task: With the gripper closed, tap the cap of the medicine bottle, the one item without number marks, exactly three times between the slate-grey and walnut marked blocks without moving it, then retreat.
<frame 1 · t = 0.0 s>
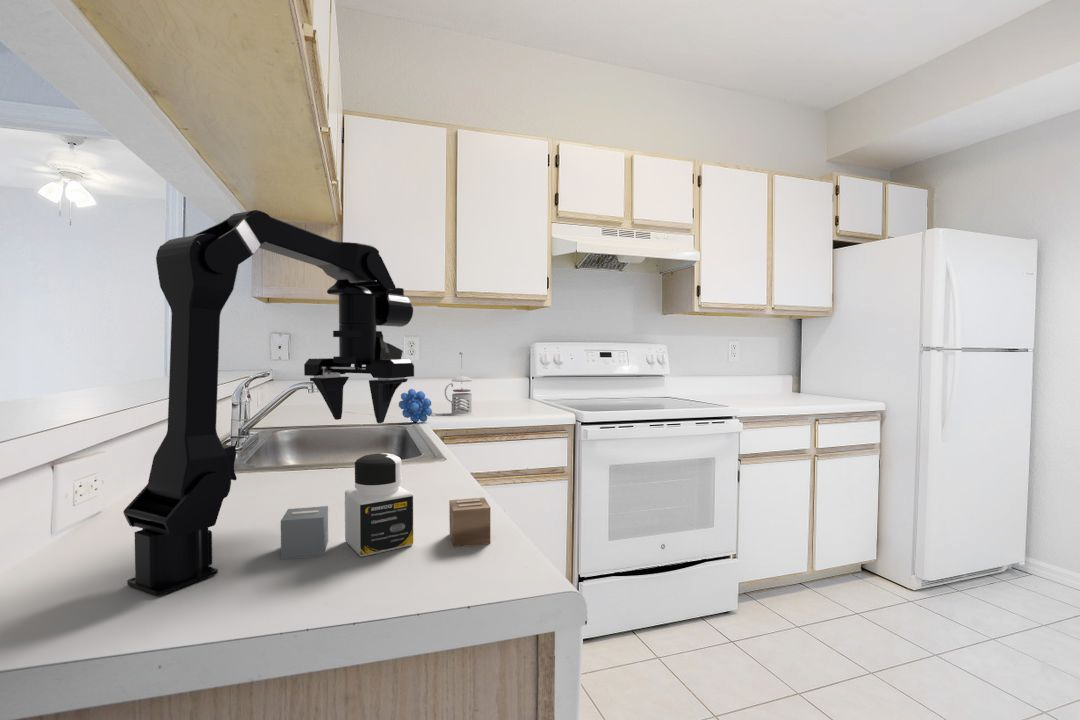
hand: (358, 421, 85), 15 cm above the worktop, tool pointing down, fingers open, 9 cm apart
slate block one: (305, 550, 69), on the worktop
french press: (459, 414, 209), on the worktop
walnut block two: (469, 539, 73), on the worktop
medicine bottle: (378, 545, 72), on the worktop
blue knobby cluster: (415, 423, 185), on the worktop
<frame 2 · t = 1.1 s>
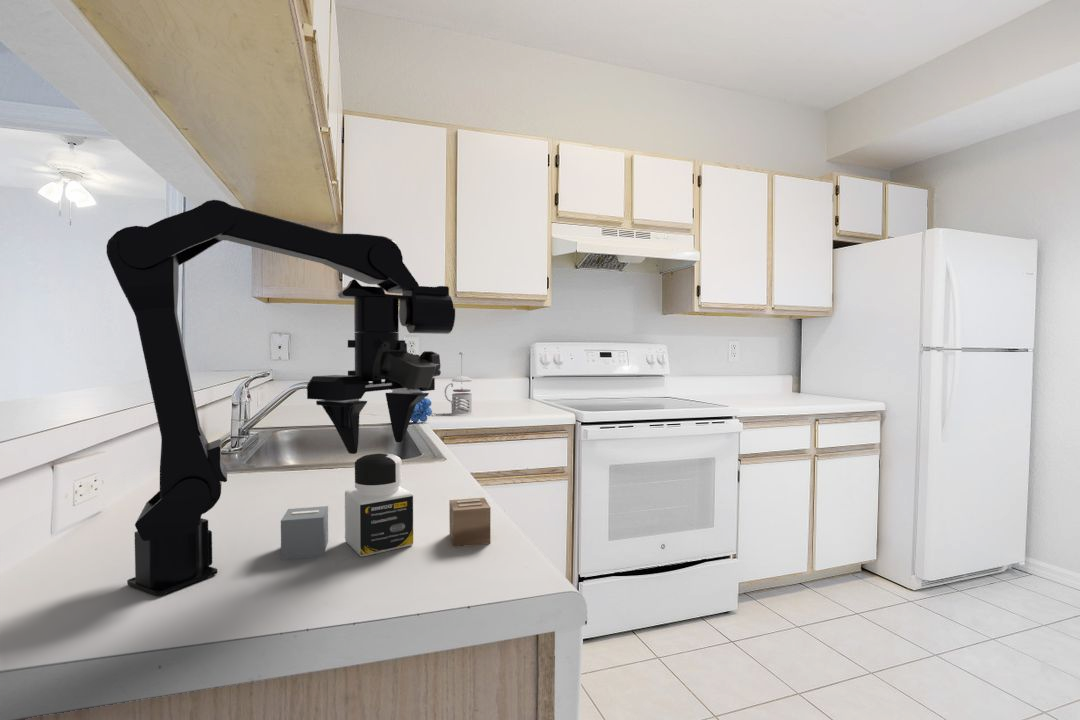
hand: (377, 447, 72), 13 cm above the worktop, tool pointing down, fingers open, 9 cm apart
nothing on the worktop moved.
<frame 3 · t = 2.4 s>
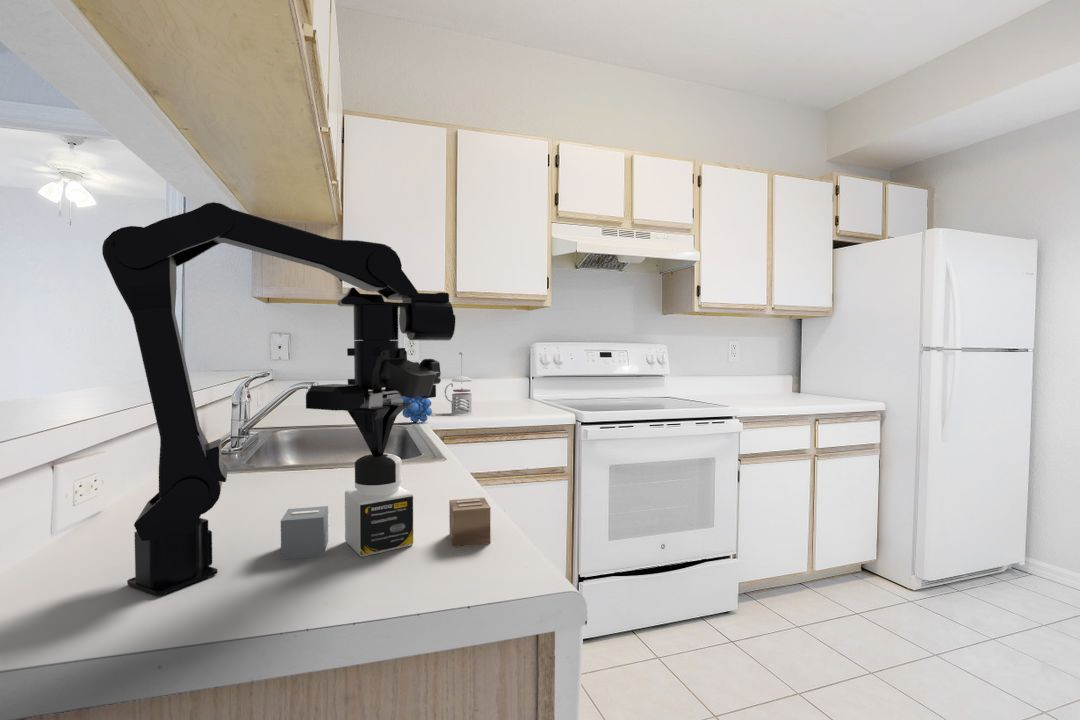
hand: (377, 456, 71), 12 cm above the worktop, tool pointing down, fingers closed, pressing on medicine bottle
medicine bottle: (378, 545, 72), on the worktop, touching gripper
everything else where it was.
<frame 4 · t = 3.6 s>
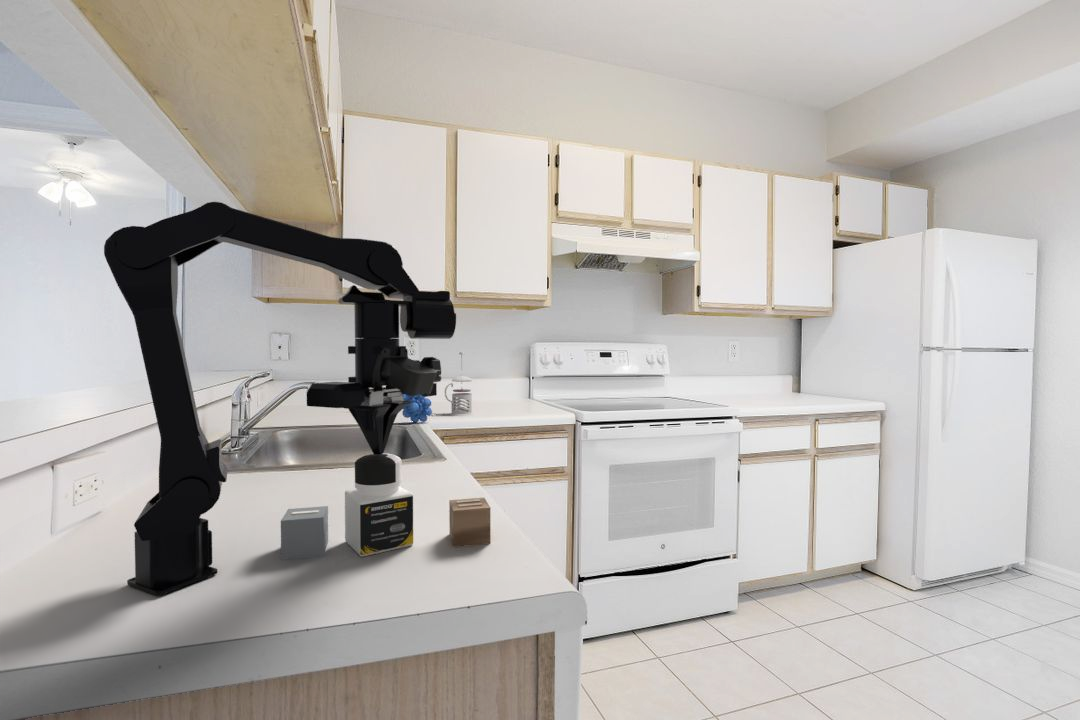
hand: (378, 454, 71), 12 cm above the worktop, tool pointing down, fingers closed
medicine bottle: (378, 545, 72), on the worktop
everything else where it was.
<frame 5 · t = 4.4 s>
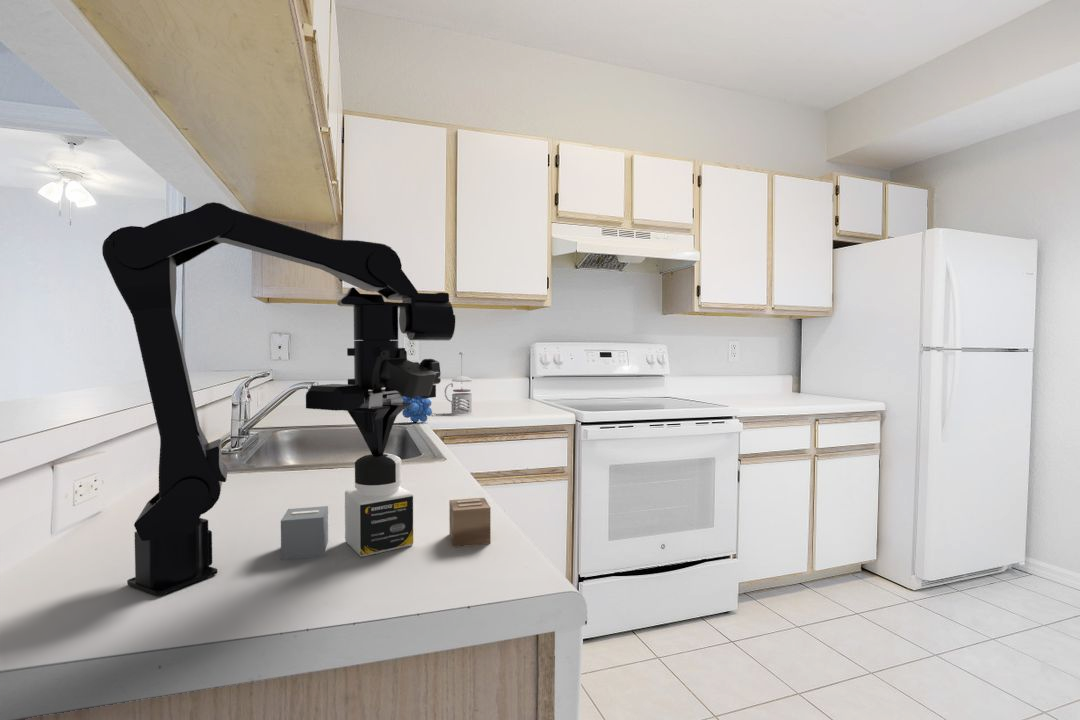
hand: (377, 456, 71), 12 cm above the worktop, tool pointing down, fingers closed, pressing on medicine bottle
medicine bottle: (378, 545, 72), on the worktop, touching gripper
everything else where it was.
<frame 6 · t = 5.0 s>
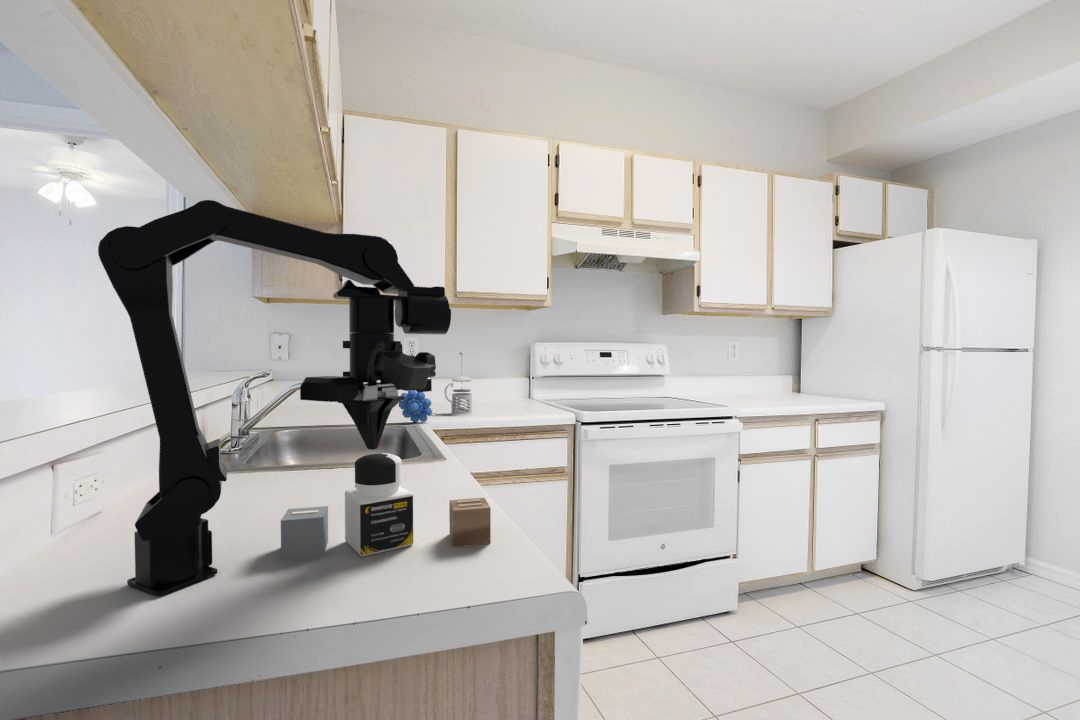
hand: (372, 449, 71), 13 cm above the worktop, tool pointing down, fingers closed
medicine bottle: (378, 545, 72), on the worktop
everything else where it was.
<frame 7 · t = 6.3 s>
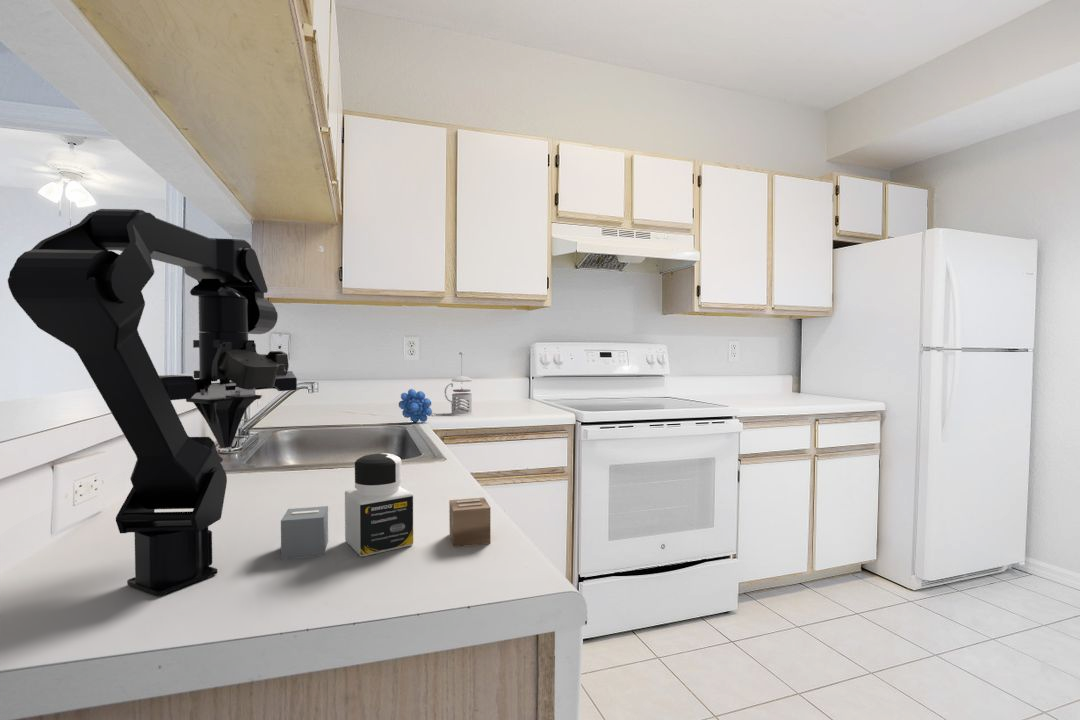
hand: (225, 447, 72), 13 cm above the worktop, tool pointing down, fingers closed
nothing on the worktop moved.
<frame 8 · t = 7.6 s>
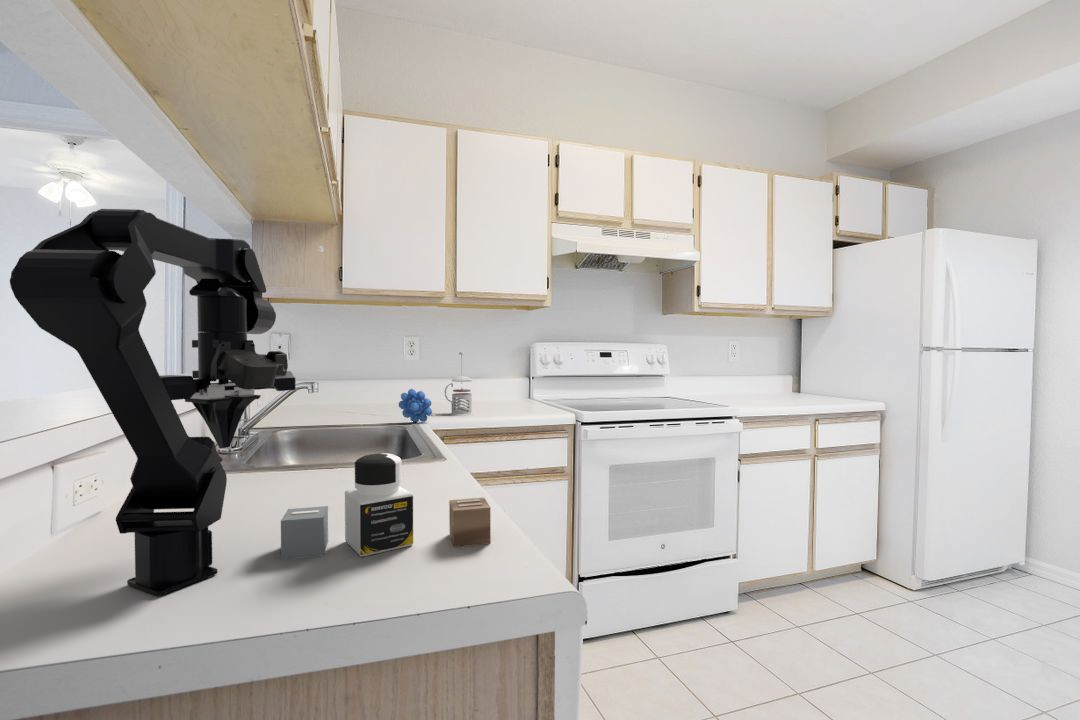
hand: (224, 447, 72), 13 cm above the worktop, tool pointing down, fingers closed
nothing on the worktop moved.
at the end: medicine bottle moved 0.2 cm from its start; medicine bottle tilted 0°; walnut block two moved 0.1 cm from its start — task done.
